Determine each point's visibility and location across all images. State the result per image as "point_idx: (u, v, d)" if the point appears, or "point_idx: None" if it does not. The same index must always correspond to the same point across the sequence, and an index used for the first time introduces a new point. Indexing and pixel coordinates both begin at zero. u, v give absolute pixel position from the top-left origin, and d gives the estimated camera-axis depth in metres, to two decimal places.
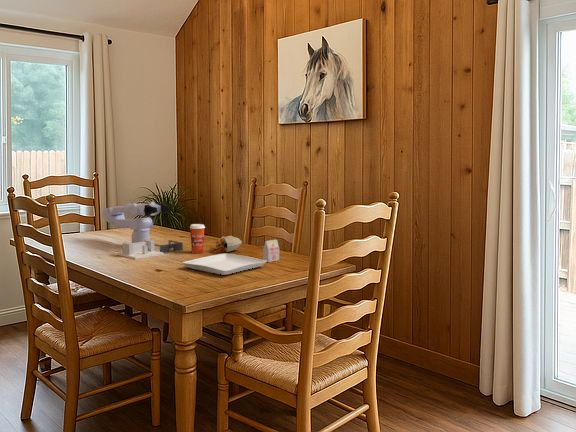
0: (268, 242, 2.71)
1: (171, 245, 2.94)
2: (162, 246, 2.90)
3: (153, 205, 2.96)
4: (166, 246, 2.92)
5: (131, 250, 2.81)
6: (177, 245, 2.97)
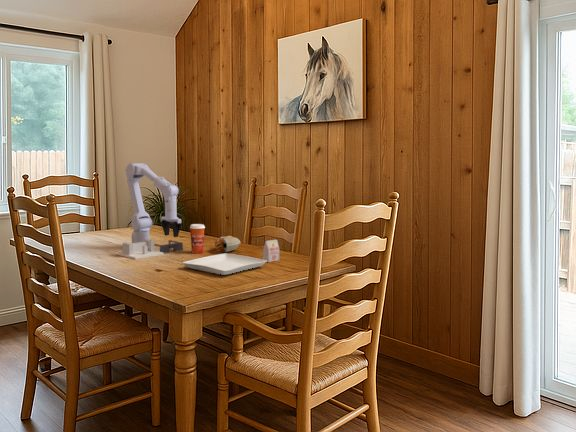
0: (268, 242, 2.71)
1: (171, 245, 2.94)
2: (162, 246, 2.90)
3: None
4: (166, 246, 2.92)
5: (131, 250, 2.81)
6: (177, 245, 2.97)
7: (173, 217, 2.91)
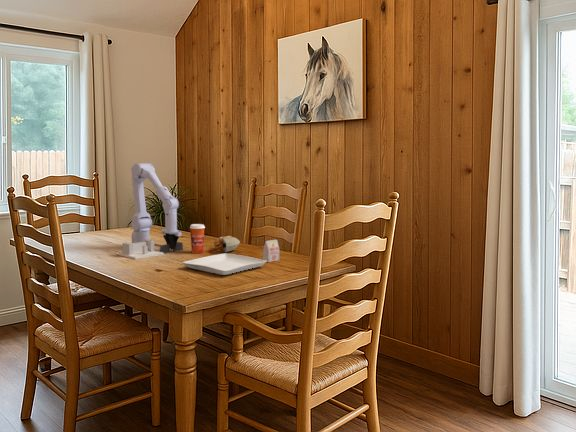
0: (268, 242, 2.71)
1: None
2: (162, 246, 2.90)
3: None
4: (166, 246, 2.92)
5: (131, 250, 2.81)
6: (177, 245, 2.97)
7: (173, 230, 2.92)
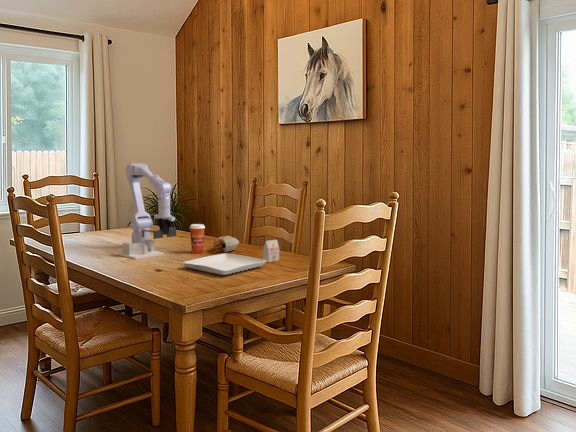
0: (268, 242, 2.71)
1: None
2: (155, 231, 2.86)
3: None
4: (159, 231, 2.88)
5: (131, 250, 2.81)
6: (170, 230, 2.93)
7: (166, 215, 2.88)
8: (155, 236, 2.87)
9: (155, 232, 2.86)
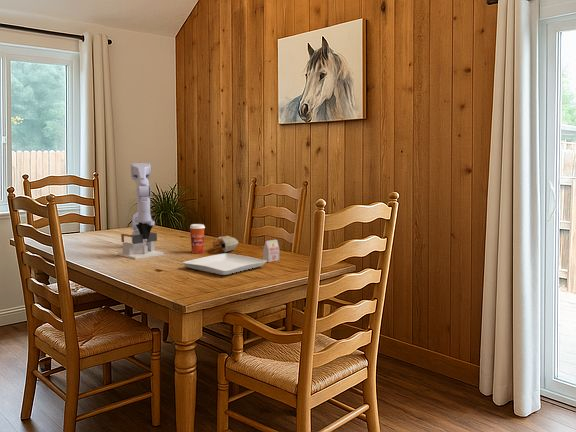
0: (268, 242, 2.71)
1: None
2: (135, 236, 2.78)
3: None
4: (139, 236, 2.80)
5: (131, 250, 2.81)
6: (150, 235, 2.85)
7: (146, 219, 2.79)
8: (134, 241, 2.78)
9: (134, 237, 2.78)
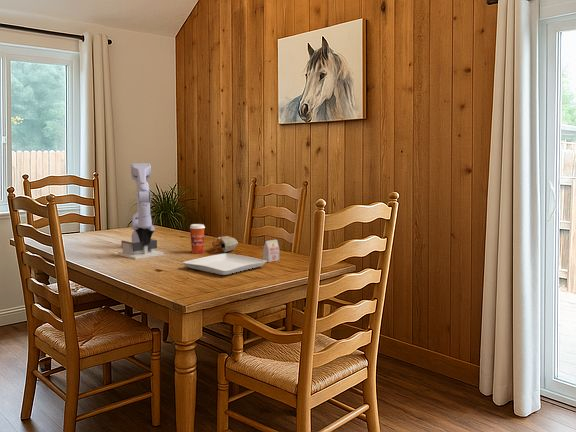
0: (268, 242, 2.71)
1: (144, 243, 2.82)
2: (135, 244, 2.79)
3: None
4: (139, 244, 2.80)
5: (131, 250, 2.81)
6: (151, 243, 2.85)
7: (146, 224, 2.80)
8: (134, 249, 2.79)
9: (134, 244, 2.79)
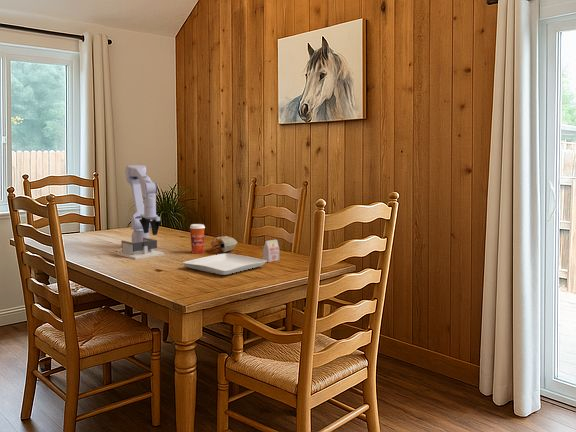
0: (268, 242, 2.71)
1: (144, 243, 2.82)
2: (135, 244, 2.79)
3: None
4: (139, 244, 2.80)
5: (131, 250, 2.81)
6: (151, 243, 2.85)
7: (152, 215, 2.88)
8: (134, 249, 2.79)
9: (134, 244, 2.79)
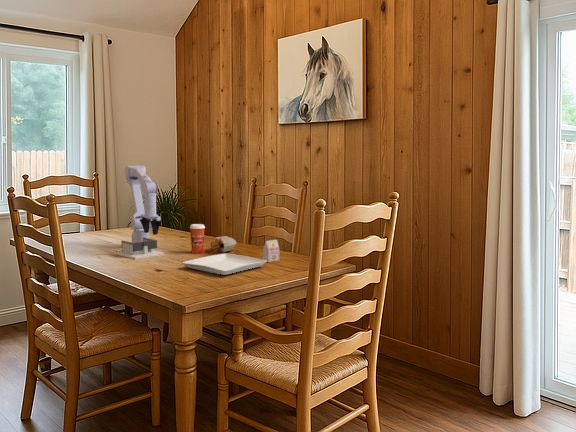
0: (268, 242, 2.71)
1: (144, 243, 2.82)
2: (135, 244, 2.79)
3: None
4: (139, 244, 2.80)
5: (131, 250, 2.81)
6: (151, 243, 2.85)
7: (152, 214, 2.89)
8: (134, 249, 2.79)
9: (134, 244, 2.79)
